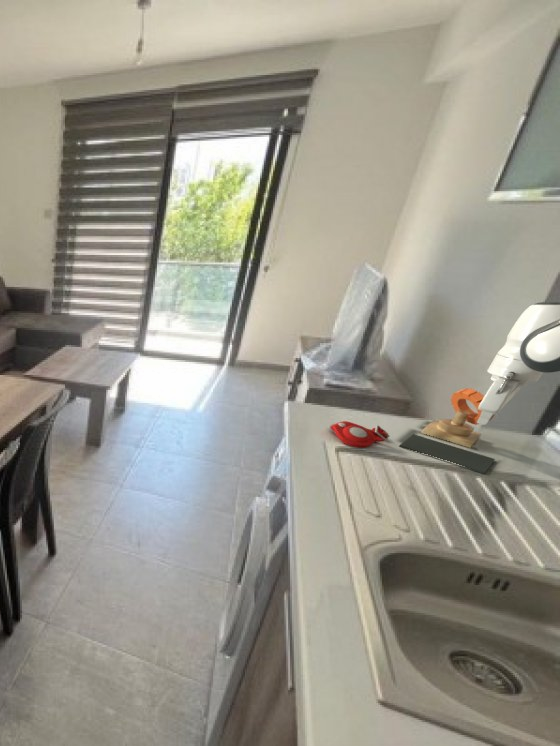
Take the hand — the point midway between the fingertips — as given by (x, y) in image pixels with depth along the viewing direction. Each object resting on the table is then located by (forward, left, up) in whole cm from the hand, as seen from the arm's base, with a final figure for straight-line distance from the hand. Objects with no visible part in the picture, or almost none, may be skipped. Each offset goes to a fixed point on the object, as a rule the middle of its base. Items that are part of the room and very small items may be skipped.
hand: (484, 421), depth 123 cm
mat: (+2, +15, -6) cm, 17 cm away
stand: (+4, 0, -6) cm, 7 cm away
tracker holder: (+17, +27, -6) cm, 33 cm away
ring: (+4, 0, +2) cm, 5 cm away
